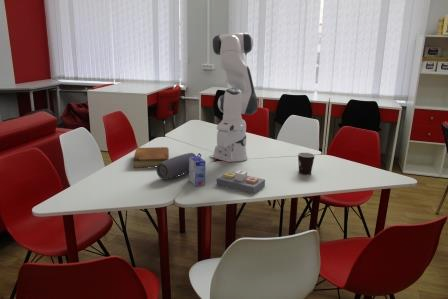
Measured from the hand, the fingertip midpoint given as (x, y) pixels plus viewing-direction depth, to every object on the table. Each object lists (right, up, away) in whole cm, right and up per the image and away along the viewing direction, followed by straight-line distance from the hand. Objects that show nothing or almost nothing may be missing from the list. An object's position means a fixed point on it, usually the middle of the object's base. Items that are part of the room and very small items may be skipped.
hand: (230, 151), depth 183 cm
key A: (0, -15, +4) cm, 16 cm away
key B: (+5, -14, +1) cm, 15 cm away
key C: (+10, -17, -2) cm, 20 cm away
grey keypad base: (+5, -16, +1) cm, 17 cm away
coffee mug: (+41, -11, +24) cm, 48 cm away
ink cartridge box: (-16, -15, +4) cm, 23 cm away
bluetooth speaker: (-27, -12, +14) cm, 33 cm away
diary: (-44, -6, +35) cm, 57 cm away
